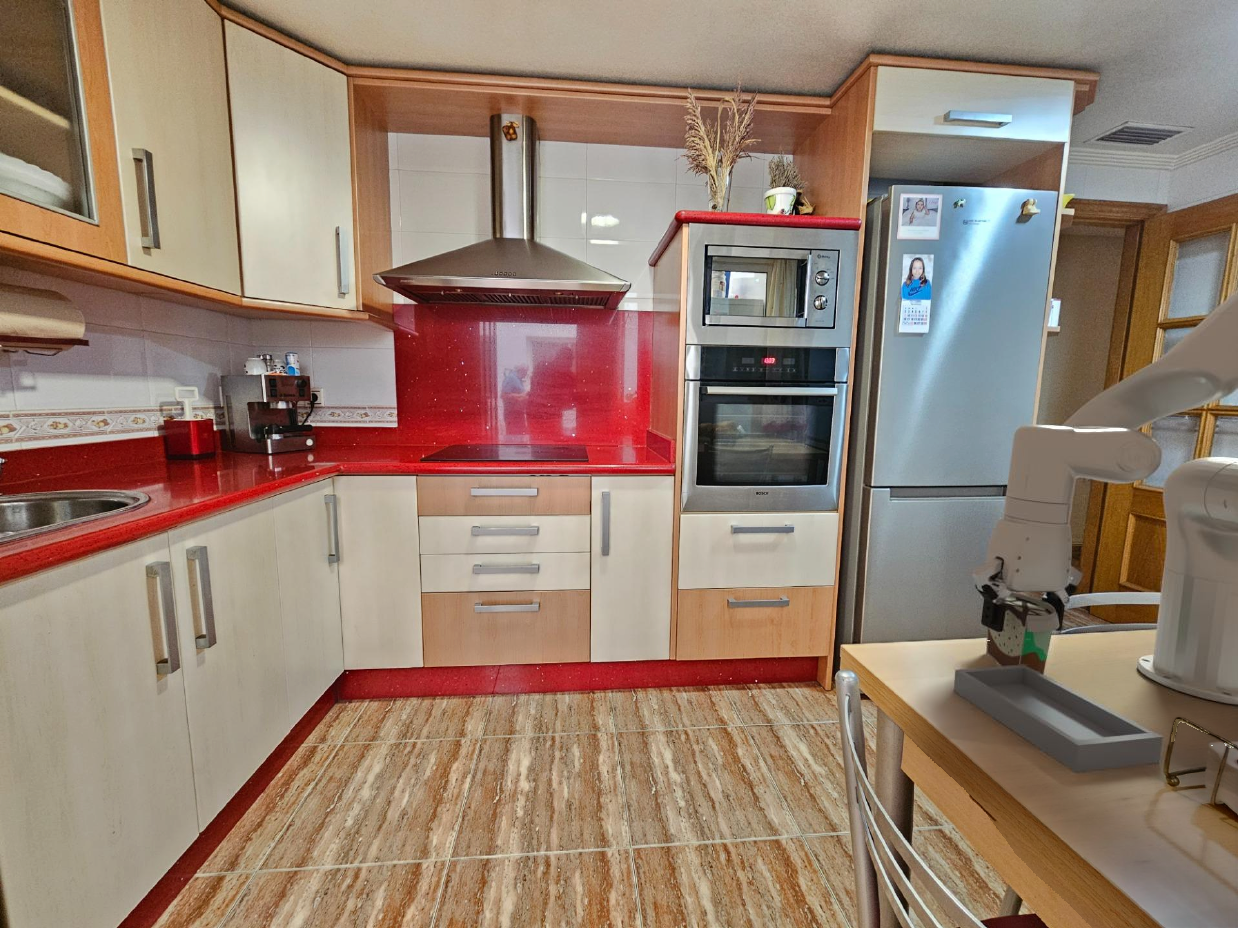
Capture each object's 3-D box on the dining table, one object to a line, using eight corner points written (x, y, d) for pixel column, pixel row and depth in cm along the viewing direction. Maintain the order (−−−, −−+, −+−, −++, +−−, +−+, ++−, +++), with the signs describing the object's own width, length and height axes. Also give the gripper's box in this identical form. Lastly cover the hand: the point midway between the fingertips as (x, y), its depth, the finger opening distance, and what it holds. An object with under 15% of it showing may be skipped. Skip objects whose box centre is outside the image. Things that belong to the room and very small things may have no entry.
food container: (1074, 692, 73) (1081, 620, 72) (1022, 687, 74) (1029, 616, 73) (1025, 652, 85) (1031, 590, 84) (982, 649, 86) (987, 587, 85)
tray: (1022, 685, 75) (1023, 664, 74) (1159, 762, 58) (1162, 736, 58) (953, 690, 73) (955, 669, 73) (1075, 772, 57) (1078, 745, 56)
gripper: (1062, 508, 82) (1047, 616, 84) (962, 505, 80) (948, 618, 81) (1115, 518, 75) (1096, 637, 77) (1006, 516, 72) (990, 639, 74)
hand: (1020, 627), depth 79 cm, fingers open, 9 cm apart
